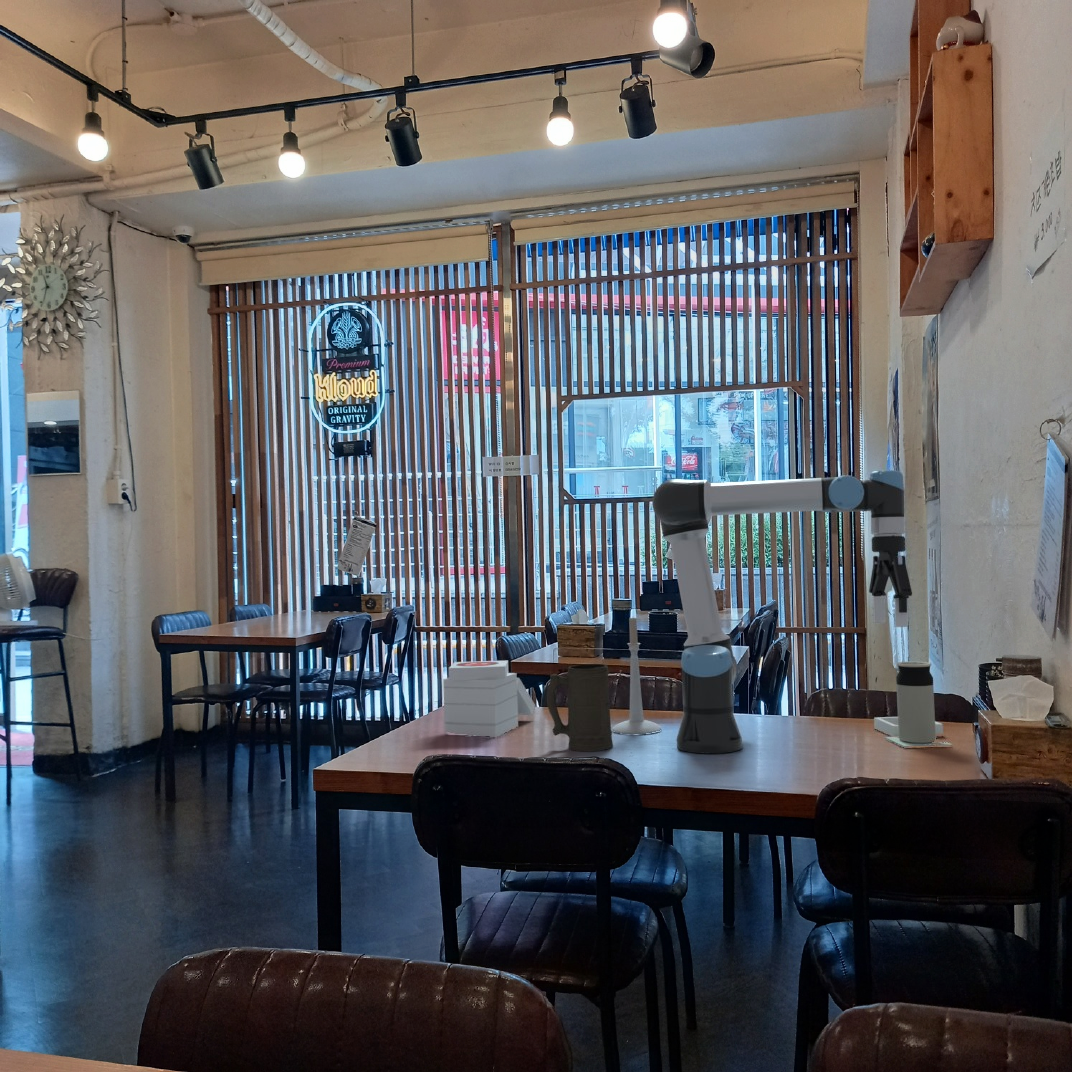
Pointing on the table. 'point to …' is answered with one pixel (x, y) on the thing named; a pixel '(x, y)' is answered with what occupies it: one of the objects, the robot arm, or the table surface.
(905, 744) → the mat
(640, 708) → the candlestick
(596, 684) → the beer stein
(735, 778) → the table surface
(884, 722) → the square grey tray
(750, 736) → the table surface
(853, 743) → the table surface
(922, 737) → the travel mug
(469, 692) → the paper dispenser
